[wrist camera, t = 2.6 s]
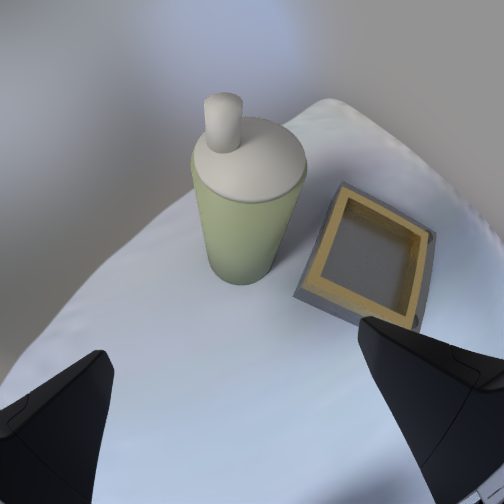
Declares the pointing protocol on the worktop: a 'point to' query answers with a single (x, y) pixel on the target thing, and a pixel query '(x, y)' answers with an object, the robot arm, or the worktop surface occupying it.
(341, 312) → the grey and tan tray
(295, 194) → the green and white bottle
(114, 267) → the worktop surface
